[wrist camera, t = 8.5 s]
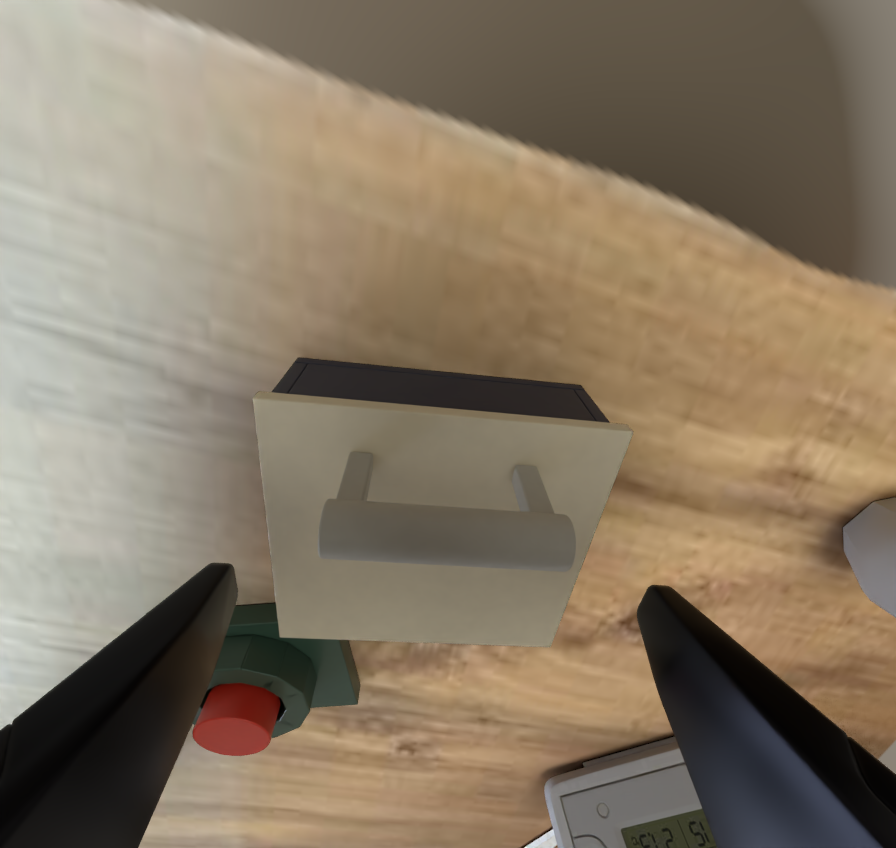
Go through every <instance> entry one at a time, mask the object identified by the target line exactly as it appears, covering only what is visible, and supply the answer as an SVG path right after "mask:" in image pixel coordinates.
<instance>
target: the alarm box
mask: <svg viewBox="0 0 896 848" xmlns="http://www.w3.org/2000/svg"><path fill="white" fill-rule="evenodd" d="M146 614H147V613H146ZM231 683H244V684H249V685H253V686H258V687H262V688H265V689H267V690H268V691H270V692H272V693H273V694H275V695H276V696H278V697H279V698H280V709H279V712H278V716H277V719H276V723H275V726H274V730H273V733H272V737H271V738H275V737H278V736H280V735H282V734H285V733H287V732H289V731H292V730H294V729H296V728H298V727H300V726H301V724H302V723H303V721H304V719H305V718H306V716H307V715H308V713H309V712H310V708H315V707H328V706H342V705H356V704H358V698H359V691H360V682H359V678H358V675H357V671H356V667H355V664H354V660H353V656H352V653H351V649H350V646H349V642H348V640H336V639H308V638H281V637H280V635H279V627H278V618H277V609H276V603H273V604H259V605H245V606H235V608H234V611H233V614H232V618H231V621H230V624H229V627H228V630H227V633H226V636H225V639H224V643H223V646H222V649H221V652H220V655H219V658H218V661H217V664H216V667H215V670H214V673H213V676H212V679H211V681H210V684H209V686H208V689H207V691H206V694H205V696H204V698H203V700H202V703H201V705H200V707H199V710H198V712H197V714H196V716H195V719H194V721H193V723H192V724H194V725H195V724H196V722H197V720H198V717H199V715H200V713H201V710H202V708H203V706H204V704H205V701H206V699H207V697H208V694H209V692H210V691H211V690H212V689H213V688H214V687H215V686H217V685H219V684H231Z"/></svg>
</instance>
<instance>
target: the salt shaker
mask: <svg viewBox="0 0 896 848" xmlns="http://www.w3.org/2000/svg"><path fill="white" fill-rule="evenodd" d="M843 545H844V552H845V554H846V556H847V559H848V561H849V563H850V565H851V567H852V569H853V572H854V574H855V576H856V578H857V580H858V582H859V585H860V587H861V589H862V590H863V592H864V593H865V594H866V595H867V597H868V598H869V599H870V600H871V601H872V602H874V603H875V604H877V605H878V606H879V607H881V608H882V609H884V610H885V611H887V612H888V613H890V614H891V615H892V616H894V617H895V618H896V497H894V498H889V499H884V500H879V501H874V502H873V503H871V504H870V505H869V506H868V507H867V508H865V509H864V510H863V511H862V512H861V513H860V514H858V515H857V516H856V517H855V518H854V519H852V520H851V521H850V522H849V523H848V524H847V525H845V526H844V527H843Z"/></svg>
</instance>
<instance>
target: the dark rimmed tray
mask: <svg viewBox="0 0 896 848" xmlns="http://www.w3.org/2000/svg"><path fill="white" fill-rule="evenodd" d="M272 392H273V393H285V394H296V395H307V396H318V397H329V398H340V399H351V400H362V401H373V402H385V403H396V404H407V405H418V406H429V407H440V408H451V409H462V410H474V411H485V412H496V413H507V414H518V415H529V416H540V417H551V418H562V419H574V420H585V421H596V422H607V423H610V422H609V421H608V419H607V418H606V417H605V416H604V414H603V413H602V412H601V410H600V409H599V408H598V406H597V405H596V404H595V403H594V401H593V400H592V399H591V397H590V396H589V395H588V394H587V392H586V391H585V390H584V388H583V387H582V386H581V385H573V384H563V383H552V382H542V381H532V380H522V379H512V378H501V377H491V376H481V375H471V374H461V373H450V372H440V371H430V370H420V369H410V368H399V367H389V366H379V365H369V364H359V363H349V362H338V361H328V360H318V359H308V358H297V359H296V361H295V362H294V363H293V365H292V366H291V367H290V369H289V370H288V371H287V373H286V374H285V375H284V377H283V378H282V379H281V380H280V382H279V383H278V384H277V386H276V387H275V388H274V390H273V391H272Z"/></svg>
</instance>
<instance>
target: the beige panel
mask: <svg viewBox="0 0 896 848" xmlns="http://www.w3.org/2000/svg"><path fill="white" fill-rule="evenodd" d="M253 406H254V415H255V424H256V432H257V441H258V450H259V459H260V468H261V477H262V485H263V494H264V503H265V512H266V521H267V530H268V538H269V547H270V556H271V565H272V574H273V582H274V591H275V600H276V609H277V618H278V627H279V635H280V637H281V638H308V639H336V640H363V641H391V642H418V643H445V644H473V645H500V646H527V647H551V644H552V641H553V639H554V636H555V634H556V631H557V629H558V626H559V623H560V621H561V618H562V616H563V613H564V611H565V608H566V605H567V603H568V600H569V598H570V595H571V592H572V590H573V587H574V585H575V582H576V580H577V577H578V574H579V572H580V569H581V567H582V564H583V561H584V559H585V556H586V554H587V551H588V549H589V546H590V543H591V541H592V538H593V536H594V533H595V531H596V528H597V525H598V523H599V520H600V518H601V515H602V512H603V510H604V507H605V505H606V502H607V500H608V497H609V494H610V492H611V489H612V487H613V484H614V481H615V479H616V476H617V474H618V471H619V469H620V466H621V463H622V461H623V458H624V456H625V453H626V451H627V448H628V445H629V443H630V440H631V438H632V435H633V431H632V429H631V428H630V427H629V426H628V425H627V424H618V423H607V422H596V421H585V420H574V419H562V418H551V417H540V416H529V415H518V414H507V413H496V412H485V411H474V410H462V409H451V408H440V407H429V406H418V405H407V404H396V403H385V402H373V401H362V400H351V399H340V398H329V397H318V396H307V395H296V394H285V393H273V392H262V391H259V392H258V393H257V394H256V395H255V396H254V397H253Z"/></svg>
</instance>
